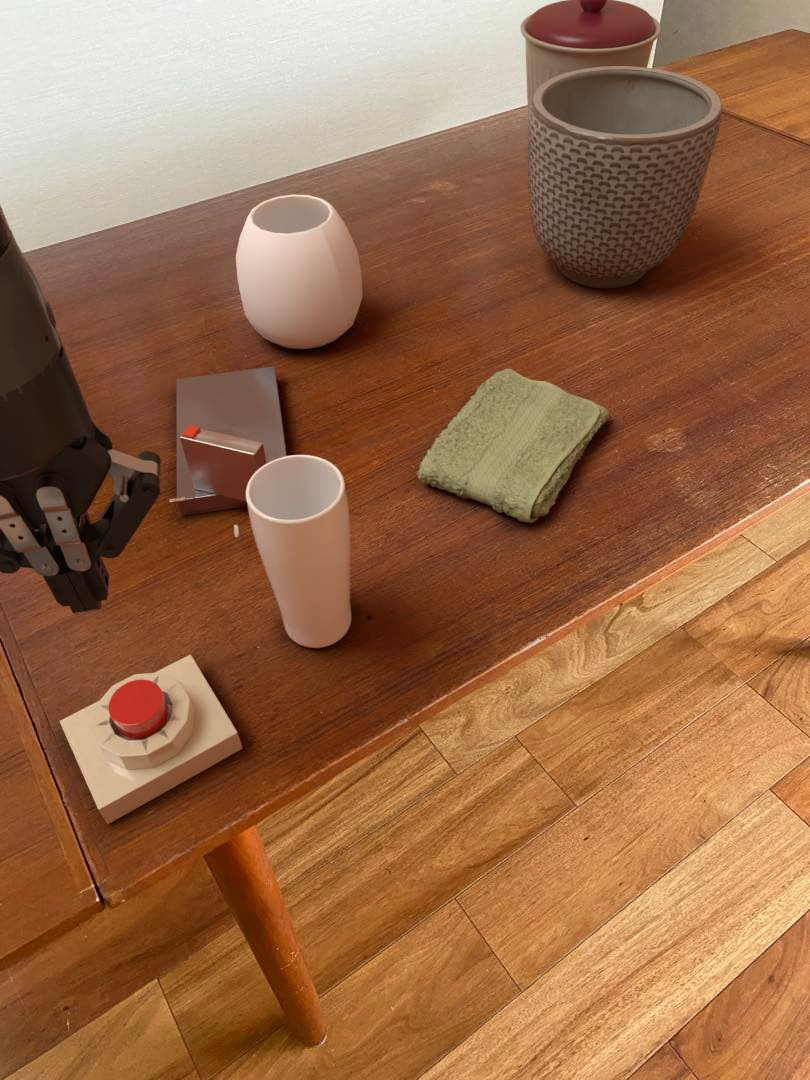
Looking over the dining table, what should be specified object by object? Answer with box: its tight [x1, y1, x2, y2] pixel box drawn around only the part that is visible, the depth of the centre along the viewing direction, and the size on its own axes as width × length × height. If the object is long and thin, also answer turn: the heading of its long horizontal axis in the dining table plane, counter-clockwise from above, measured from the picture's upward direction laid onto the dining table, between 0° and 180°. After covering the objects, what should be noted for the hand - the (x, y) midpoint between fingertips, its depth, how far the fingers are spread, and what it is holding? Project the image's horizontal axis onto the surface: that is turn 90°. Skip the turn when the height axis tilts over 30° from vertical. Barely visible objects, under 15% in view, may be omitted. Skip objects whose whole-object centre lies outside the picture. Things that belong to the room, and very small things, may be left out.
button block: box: [59, 654, 243, 825], centre depth 60 cm, size 10×8×4 cm
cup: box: [235, 194, 364, 350], centre depth 92 cm, size 13×13×14 cm
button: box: [109, 680, 169, 739], centre depth 58 cm, size 4×4×2 cm
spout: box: [180, 425, 267, 502], centre depth 74 cm, size 7×2×6 cm, turn 70°
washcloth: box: [416, 368, 611, 524], centre depth 80 cm, size 13×18×3 cm
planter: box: [527, 66, 723, 290], centre depth 97 cm, size 20×20×19 cm
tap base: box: [168, 365, 288, 539], centre depth 81 cm, size 24×11×2 cm, turn 10°
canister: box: [520, 0, 662, 120], centre depth 117 cm, size 18×18×21 cm
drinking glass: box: [246, 454, 353, 649], centre depth 63 cm, size 7×7×15 cm
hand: (89, 600), depth 50 cm, fingers closed
